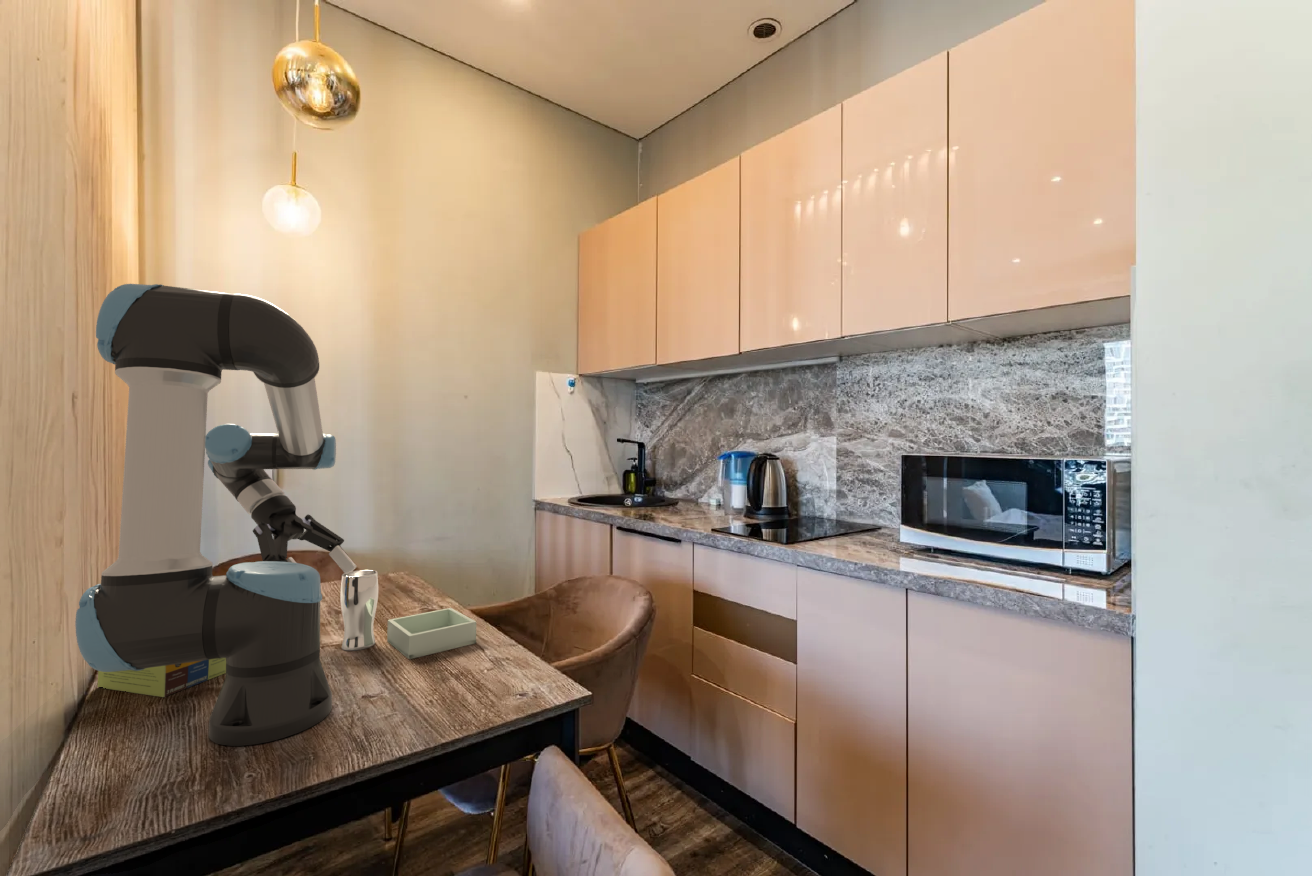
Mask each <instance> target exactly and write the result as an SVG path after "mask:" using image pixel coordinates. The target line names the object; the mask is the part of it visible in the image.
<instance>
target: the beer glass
mask: <svg viewBox="0 0 1312 876" xmlns="http://www.w3.org/2000/svg"><path fill="white" fill-rule="evenodd" d="M378 575H379V574H378V571H377V570H373V569H361V570H359V569H358V570H353V571H351V572H347V573H344V572H343V573H342V574H341V584H340V595H339V596H340V598H339V599H340V609H341V614H342V620H343V630H344V633H343V639H342V644H341V649H342V650H343V651H348V652H350V651H351V652H354V651H362V650H365V649H369V648H371V647H373V646H374V645H376V638H375V634H374V632H375V631H374V624H375V623H374V621H375V617H376V613H377V606H378V600H379V579H378V578H379V577H378Z"/></svg>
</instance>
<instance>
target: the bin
mask: <svg viewBox="0 0 1312 876" xmlns="http://www.w3.org/2000/svg"><path fill="white" fill-rule="evenodd" d="M386 629H387V630H386V631H387V633H386V634H387V635H386V637H387V639H386V640H387V643H388V644H390V645H391V646H392V647H393V648H395V649H396V650H397V651H398V652H400V653H401V654H402V655H403V656H404V657H405V658H407V659H408V660H412V659H416V658H420V657H424V656H429V655H433V654H437V653H441V652H445V651H449V650H453V649H457V648H462V647H466V646H470V645H473V644H477V621H476V620H474V619H472V618H470V617H468V615H465V614H463V613H461V612H460V611H458V610H456V609H454V608H452V607H448V608H443V609H437V610H433V611H427V612H422V613H416V614H412V615H407V616H402V617H401V616H400V617H395V618H391V619H388V620H387V628H386Z"/></svg>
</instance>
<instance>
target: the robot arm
mask: <svg viewBox="0 0 1312 876" xmlns="http://www.w3.org/2000/svg"><path fill="white" fill-rule="evenodd" d="M95 337H96V339H98V340H97V342H96V343H97V344H96V346H97V350H98V353H99V354H100V356H101V357H102V359H103V360H104V361H106V362H108V363H110V364H113V365H114V366H115V367H114V374H115V375H116V376H117V377H118V378H119V379H120V380H121V381H123V382H124V383H125V384H126V385H127V386H128V403H127V414H126V415H127V416H126V417H127V418H126V431H125V448H124V464H123V465H124V466H123V482H122V495H121V496H122V497H121V514H120V524H119V525H120V527H119V528H120V529H119V540H118V541H119V543H118V544H119V545H118V556H117V559H116V560H115V561H114V562H113V563H112V564H111V565H109V566H108V567H107V568H105V569H104V570H102V571H101V577H100V578H101V579H100V583H97V584H95V585H94V586H91V587H89V588H87V589H86V590H85V591H84V592H83V594H82V595H81V597H80V599H79V602H78V607H79V608H77V610H76V614H75V621H74V622H75V625H74V626H75V637H76V642H77V646H78V650H79V653H80V655H81V656H82V658H83V660H84V661H85V662H86V663H87V665H88V666H89V667H91V668H92V669H93V670H96V671H97V672H98V671H102V672H114V671H125V670H133V671H140V670H143V669H145V668H151V667H158V666H165V665H173V664H180V663H188V662H195V661H202V660H210V659H216V658H226V673H225V677H224V679H223V680H224V681H223V683H222V686H221V687H220V691H219V693H218V696H217V698H216V701H215V703H214V705H213V709H212V710H211V714H210V717H209V721H208V738H209V739H210V741H212V742H213V743H215V744H218V745H222V746H228V747H229V746H230V747H234V746H235V747H236V746H237V747H240V746H252V745H258V744H259V745H260V744H265V743H270V742H273V741H278V740H281V739H284V738H287V737H291V736H293V735H295V734H298V733H301V732H303V731H306V730H308V729H310V728H312V727H314V726H315V725H317V724H319V723H320V722H322V721H324V719H326V717H327V716H328V715H330V713H331V711H332V709H333V708H332V707H333V693H332V690H331V687H330V684H329V681H328V679H327V676H326V674H325V673H326V672H325V670H324V668H323V665H322V663H321V659H320V658H321V657H320V656H321V653H320V652H321V602H322V601H323V594H322V586H321V585H322V584H321V576H320V572H319V571H318V570H317V569H316V568H315V567H313V566H310V565H307V564H303V563H299V562H296V561H295V559H294V558H293V557H292V556H290V557H289V556H288V543H289V541H291V540H299V541H307V542H308V543H311V544H313V545H315V546H317V547H319V548H321V549H322V550H326V551H328V552H329V553H328V555H329V557H330V558H331V559H332V560H333V561H334V562H335V563H336V565H337V566H338V567H339V568H340V570H341V571H342V572H343V574H344V573H347V572H351V571H355V569H356V568H357V567H358V566H357V565H356V563H355V562H353V559H351V557H349V555H348V554H347V552H346V551H345V550H344V548H343V547H342V544H343V543H344V542H345V539H344V538H342V537H341V536H339V535H338V534H337V533H335V532H333V531H332V530H330V529H329V528H327V527H326V526H324V525H323V524H321V523H320V522H318V521H317V520H316V519H315V518H314V517H313V516H312V515H311V514H306V515H305V516H304V517H302V518H301V517H300V516H298V515H297V514H296V510H297V507H296V505H295V504H294V503H293V502H292V500H291V499H290V498H289V497H288V496H287V495H286V494H285V492H284V491H283V489H281V487H280V486H279V485H278V484H277V483H276V481H274V480H273V479H272V478H271V477H270V475H269V474H268V473H267V472H266V470H313V471H315V470H319V469H320V470H321V469H331V468H333V467H334V466H335V465H336V460H337V459H336V458H337V457H336V456H337V439H336V437H335V436H334V435H332V434H329V433H328V434H327V433H324V432H323V426H322V419H321V418H322V417H321V414H320V405H319V400H318V392H317V386H316V379H315V378H316V377H317V376H318V374H319V371H320V360H319V353H318V350H317V347H316V345H315V343H314V341H313V340H312V338H311V336H310V335H309V333H308V332H307V330H305V329H304V327H303V326H302V325H301V324H300V323H299V322H298V321H297V320H296V319H295V318H293V317H292V316H291V315H290V314H288V312H286V311H284V310H283V309H281V308H280V307H278V306H277V305H275V304H273V303H272V302H269V301H267V300H265V299H263V298H260V297H257V296H253V295H249V294H241V293H231V292H230V293H228V292H219V291H212V290H211V291H210V290H204V289H196V288H195V289H194V288H186V287H177V286H172V285H169V286H168V285H163V284H162V283H161V284H158V283H156V284H143V283H141V284H140V283H139V284H138V283H124V284H121V285H119V286H117V287H114V288H113V290H111V291H110V292H109V293H108V294H107V295H106V296H105V298H104V300H103V302H102V304H101V306H100V309H99V312H98V315H97V320H96V326H95ZM223 370H227V371H249V372H252V373H253V374H254V376H255V377H256V379H258V381H260V382H261V383H263V384H264V389H265V391H266V395H267V399H268V403H269V405H270V409H271V412H272V417H273V420H274V424H275V427H276V430H277V433H263V432H262V433H257V432H254V433H253V432H251V433H250V432H249V431H248V430H247V428H245V427H243V426H242V425H238V424H235V423H225V424H220V425H217V426H215V427H213V428H212V429H210V430H209V431H208V432H207V419H208V418H207V415H208V413H207V412H208V396H209V395H208V393H209V392H210V391H211V390H213V389H214V388H215V387H217V386H218V385H219V384H221V383H222V371H223ZM205 454H206V455H207V458H208V460H207V465H208V467H209V469H210V470H211V473H213V475H214V477H215V478H216V479H218V480H219V482H221V484H223V486H224V487H225V488H226V490H228V492H229V493H230V494H232V496H233V497H234V498H235V500H236V501H237V502H238V503H239V505H241V506H242V508H243V509H244V510H245V511H246V513H247V514H248V516H250V517H251V519H252V520H253V521H254V522H255V524H256V526H255V527H254V528H253V529H252V532H253V534H254V536H255V537H256V539H257V543H258V546H259V551H260V555H261V559H262V561H259V560H258V561H255V562H254V561H253V562H252V561H251V562H250V561H249V562H248V561H247V562H246V561H245V562H240V563H237V564H233V565H232V566H230V567H229V568H228V570H227V571H226V574H225V575H213V565H214V563H213V562H212V561H211V560H210V559H209V558H207V557H205V556H204V555H203V554H202V552H201V542H202V541H201V537H202V518H203V517H202V515H203V500H204V499H203V497H204V476H205V475H204V474H205V459H206V457H205Z"/></svg>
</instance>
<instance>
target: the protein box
mask: <svg viewBox="0 0 1312 876" xmlns="http://www.w3.org/2000/svg"><path fill="white" fill-rule="evenodd" d="M223 675H226V658H216V659H210V660H202V661H195V662H188V663H180V664H173V665H165V666H158V667H151V668H145V669H143V670H140V671H133V670H125V671H114V672H102V671H98V670H97V688H99V687H103V688H102V689H105V688H106V689H107V690H113V691H118V692H119V691H121V692H125V691H126V692H127V693H132V694H140V695H147V696H154V697H159V698H160V697H161V698H166V697H168V696H171V695H173V694H175V693H179V692H181V691H183V690H186V689H189V688H191V687H193V686H196V685H199V684H201V683H204V682H206V681H209V680H212V679H215V678H217V677H219V676H223Z"/></svg>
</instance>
